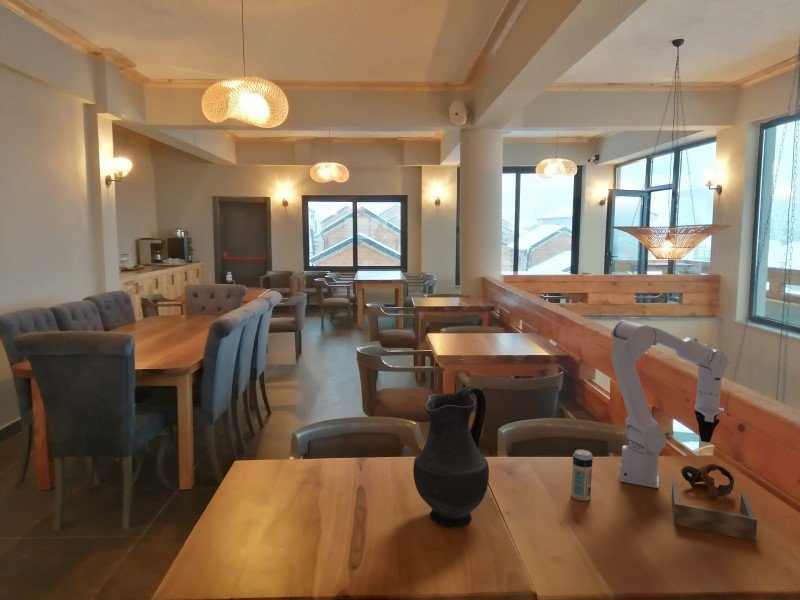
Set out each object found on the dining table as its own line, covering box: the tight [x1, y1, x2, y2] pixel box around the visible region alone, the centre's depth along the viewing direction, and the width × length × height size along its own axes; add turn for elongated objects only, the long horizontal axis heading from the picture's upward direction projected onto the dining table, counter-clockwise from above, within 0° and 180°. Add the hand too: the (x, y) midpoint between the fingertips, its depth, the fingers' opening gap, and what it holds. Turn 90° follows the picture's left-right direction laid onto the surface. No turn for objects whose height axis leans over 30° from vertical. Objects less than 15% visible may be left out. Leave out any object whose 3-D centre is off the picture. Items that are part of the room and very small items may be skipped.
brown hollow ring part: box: [680, 463, 735, 500], centre depth 142 cm, size 12×10×8 cm
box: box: [671, 480, 758, 542], centre depth 129 cm, size 16×16×5 cm
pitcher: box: [413, 384, 490, 528], centre depth 127 cm, size 17×21×30 cm
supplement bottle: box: [570, 448, 594, 502], centre depth 137 cm, size 5×5×12 cm
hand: (704, 439), depth 151 cm, fingers open, 3 cm apart
